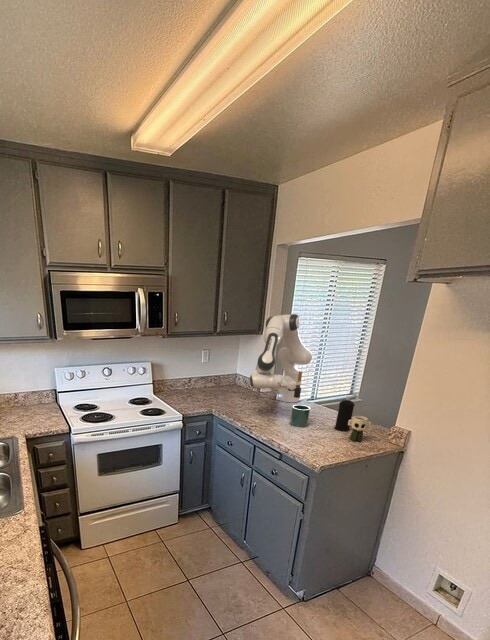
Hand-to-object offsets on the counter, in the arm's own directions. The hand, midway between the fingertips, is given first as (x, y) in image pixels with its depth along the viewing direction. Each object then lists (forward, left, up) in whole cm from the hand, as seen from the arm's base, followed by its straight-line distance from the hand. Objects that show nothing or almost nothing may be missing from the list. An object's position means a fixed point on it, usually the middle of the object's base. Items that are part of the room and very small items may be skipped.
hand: (300, 382), depth 216 cm
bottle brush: (0, -1, -9) cm, 9 cm away
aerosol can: (+10, +25, -25) cm, 37 cm away
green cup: (+5, +1, -25) cm, 26 cm away
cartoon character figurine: (+27, +28, -25) cm, 46 cm away
